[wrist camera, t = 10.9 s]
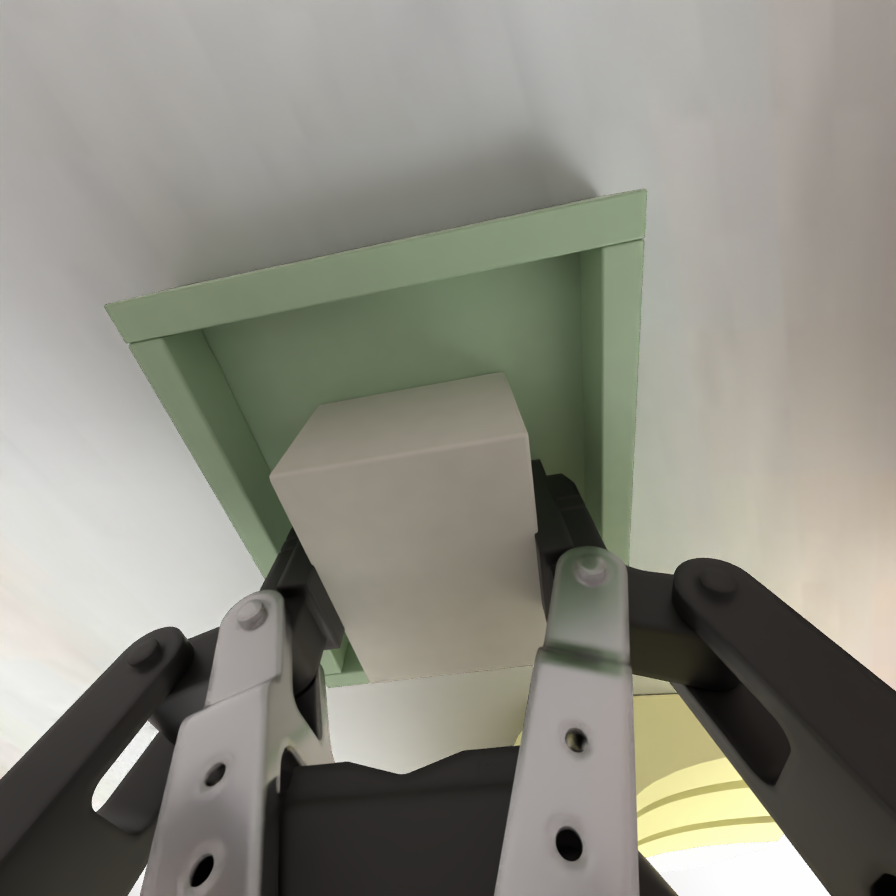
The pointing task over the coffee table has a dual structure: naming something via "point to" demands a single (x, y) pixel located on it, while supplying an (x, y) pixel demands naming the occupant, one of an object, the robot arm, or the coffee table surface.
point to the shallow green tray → (410, 354)
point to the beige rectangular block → (422, 526)
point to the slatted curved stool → (688, 784)
